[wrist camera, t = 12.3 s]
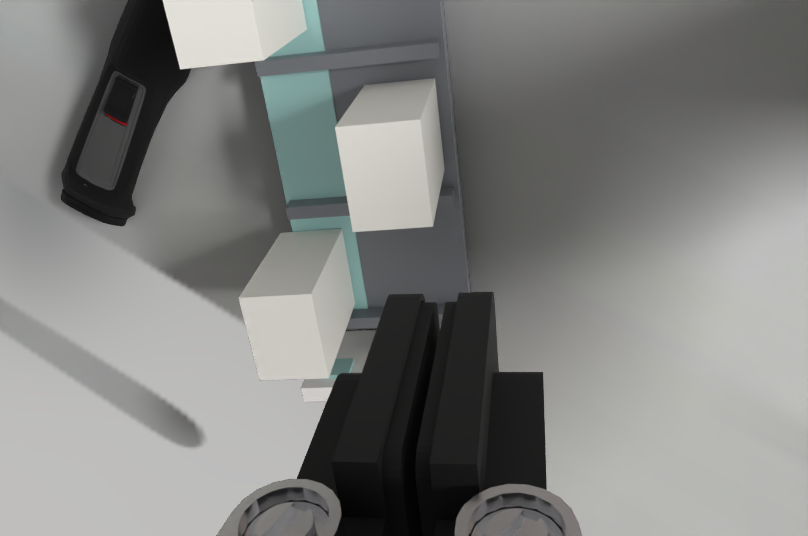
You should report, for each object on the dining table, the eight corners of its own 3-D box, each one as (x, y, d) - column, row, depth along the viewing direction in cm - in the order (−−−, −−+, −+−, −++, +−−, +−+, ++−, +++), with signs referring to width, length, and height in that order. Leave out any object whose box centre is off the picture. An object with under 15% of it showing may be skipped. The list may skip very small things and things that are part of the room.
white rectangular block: (434, 78, 31) (420, 119, 25) (444, 169, 32) (432, 226, 27) (364, 85, 31) (334, 127, 26) (377, 174, 33) (352, 231, 27)
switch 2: (342, 228, 34) (311, 293, 29) (355, 303, 36) (328, 378, 31) (280, 232, 35) (238, 297, 29) (296, 306, 37) (259, 380, 31)
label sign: (473, 322, 38) (470, 379, 33) (475, 338, 38) (472, 397, 34) (322, 328, 39) (299, 384, 35) (326, 344, 40) (304, 402, 35)
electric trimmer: (256, -63, 31) (231, -60, 28) (135, 225, 38) (105, 250, 35) (175, -112, 31) (142, -114, 28) (67, 188, 37) (32, 211, 35)
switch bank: (430, -126, 29) (425, -127, 27) (471, 298, 37) (469, 324, 35) (237, -98, 30) (215, -97, 28) (318, 305, 38) (307, 331, 36)
